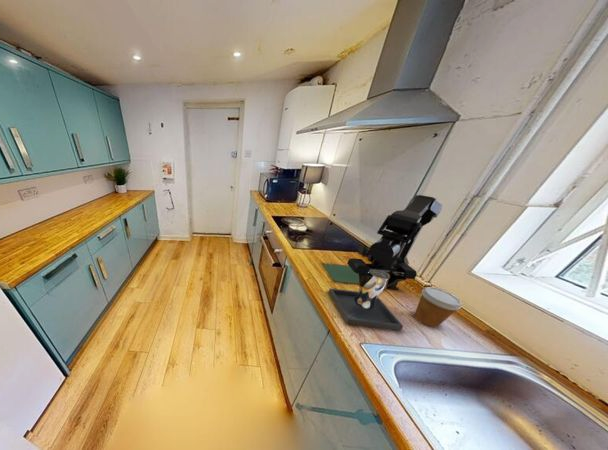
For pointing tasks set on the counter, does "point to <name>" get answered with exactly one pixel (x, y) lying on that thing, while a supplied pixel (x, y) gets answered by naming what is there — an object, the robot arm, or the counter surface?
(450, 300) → the disposable coffee cup
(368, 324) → the dark grey tray
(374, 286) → the beer glass
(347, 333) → the counter surface
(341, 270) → the drying mat
